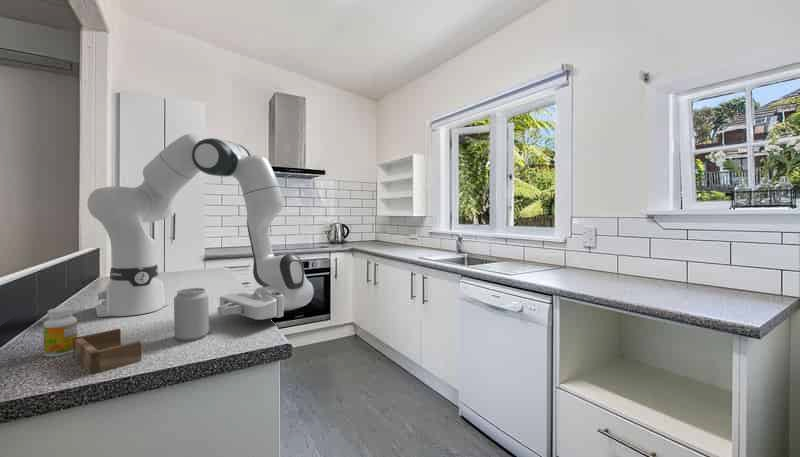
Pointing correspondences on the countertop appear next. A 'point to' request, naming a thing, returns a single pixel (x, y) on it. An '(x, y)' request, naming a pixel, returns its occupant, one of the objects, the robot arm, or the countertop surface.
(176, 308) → the can
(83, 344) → the corral
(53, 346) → the supplement bottle
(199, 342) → the countertop surface
